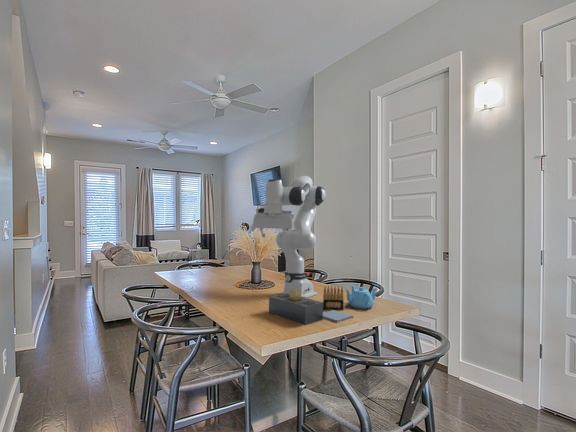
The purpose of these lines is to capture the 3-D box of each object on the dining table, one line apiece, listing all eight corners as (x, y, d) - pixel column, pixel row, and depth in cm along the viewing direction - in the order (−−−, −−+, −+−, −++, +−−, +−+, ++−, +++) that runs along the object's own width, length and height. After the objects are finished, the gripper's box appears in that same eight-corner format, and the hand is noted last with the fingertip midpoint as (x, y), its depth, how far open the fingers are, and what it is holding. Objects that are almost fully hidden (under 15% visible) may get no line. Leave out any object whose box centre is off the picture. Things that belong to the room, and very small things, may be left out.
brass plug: (295, 305, 156) (295, 288, 156) (301, 307, 153) (301, 290, 153) (289, 306, 153) (289, 289, 153) (295, 308, 150) (295, 291, 150)
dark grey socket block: (286, 308, 165) (286, 292, 166) (322, 319, 148) (323, 302, 148) (268, 313, 157) (269, 296, 157) (304, 325, 140) (305, 306, 140)
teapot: (370, 311, 164) (371, 291, 164) (342, 307, 171) (342, 287, 171) (377, 305, 177) (377, 286, 177) (350, 301, 184) (351, 283, 184)
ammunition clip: (322, 309, 166) (323, 286, 166) (322, 308, 167) (323, 285, 168) (343, 310, 166) (344, 286, 166) (343, 309, 168) (343, 285, 168)
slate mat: (332, 312, 162) (332, 309, 162) (353, 317, 153) (353, 315, 153) (317, 316, 153) (317, 314, 153) (337, 322, 145) (337, 320, 145)
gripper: (294, 211, 167) (293, 237, 167) (255, 210, 169) (254, 236, 168) (293, 210, 161) (292, 238, 161) (252, 209, 162) (252, 236, 162)
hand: (272, 237), depth 164 cm, fingers open, 8 cm apart
